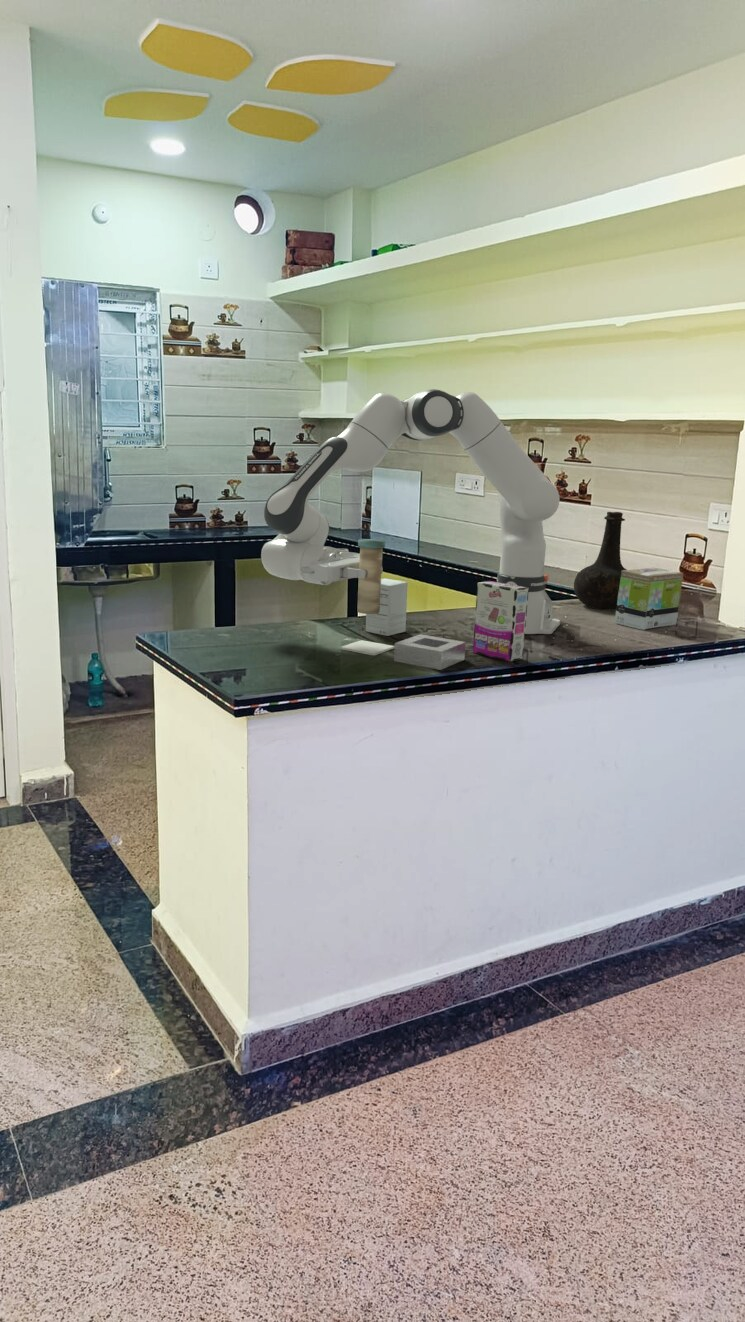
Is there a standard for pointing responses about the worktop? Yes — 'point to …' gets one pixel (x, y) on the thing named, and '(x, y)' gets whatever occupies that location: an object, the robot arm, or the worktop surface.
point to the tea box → (648, 598)
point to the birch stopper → (370, 575)
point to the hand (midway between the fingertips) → (373, 572)
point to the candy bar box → (500, 620)
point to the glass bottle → (603, 569)
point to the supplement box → (389, 609)
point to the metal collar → (429, 651)
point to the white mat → (367, 647)
